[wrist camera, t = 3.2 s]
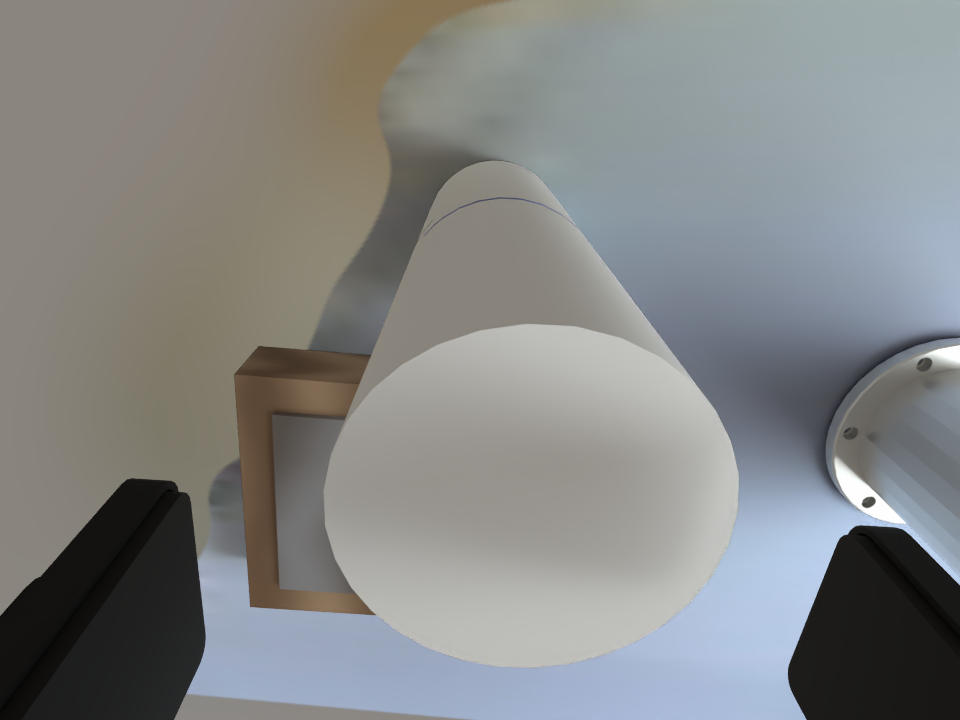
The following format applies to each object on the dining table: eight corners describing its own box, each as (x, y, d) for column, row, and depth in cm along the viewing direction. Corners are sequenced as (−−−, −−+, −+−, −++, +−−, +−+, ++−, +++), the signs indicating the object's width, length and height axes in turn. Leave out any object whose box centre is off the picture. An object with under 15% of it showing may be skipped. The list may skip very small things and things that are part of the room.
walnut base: (530, 368, 37) (537, 402, 33) (502, 578, 43) (505, 628, 39) (258, 346, 36) (231, 377, 32) (269, 562, 43) (248, 611, 39)
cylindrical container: (585, 244, 34) (808, 554, 11) (479, 316, 36) (483, 718, 13) (511, 131, 32) (599, 229, 9) (401, 214, 33) (234, 479, 10)
